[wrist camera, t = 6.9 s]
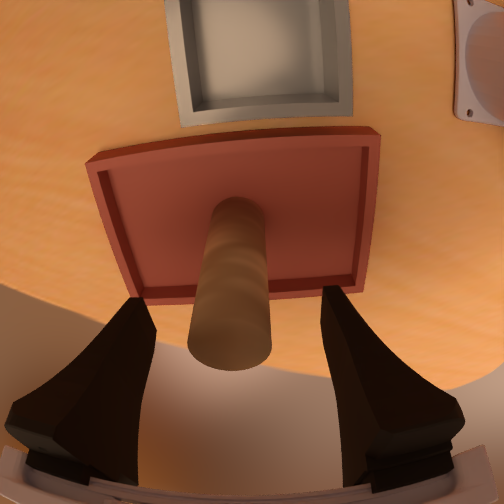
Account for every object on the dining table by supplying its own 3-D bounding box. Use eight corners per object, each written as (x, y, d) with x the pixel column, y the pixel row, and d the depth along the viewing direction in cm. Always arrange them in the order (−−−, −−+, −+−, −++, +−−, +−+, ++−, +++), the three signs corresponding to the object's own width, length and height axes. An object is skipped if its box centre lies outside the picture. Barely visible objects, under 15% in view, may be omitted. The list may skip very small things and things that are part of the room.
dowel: (262, 194, 18) (270, 317, 10) (265, 240, 19) (272, 369, 12) (208, 198, 18) (179, 320, 10) (215, 243, 20) (196, 371, 12)
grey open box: (325, -25, 11) (343, -42, 8) (333, 103, 15) (352, 116, 12) (179, -16, 11) (161, -30, 9) (194, 112, 16) (181, 127, 13)
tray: (369, 126, 16) (380, 135, 14) (356, 274, 22) (363, 292, 20) (98, 152, 17) (84, 163, 15) (140, 288, 22) (134, 305, 21)
